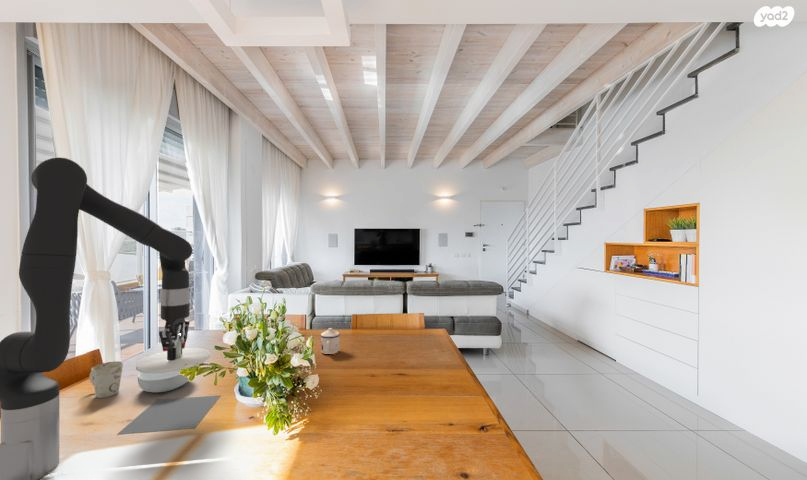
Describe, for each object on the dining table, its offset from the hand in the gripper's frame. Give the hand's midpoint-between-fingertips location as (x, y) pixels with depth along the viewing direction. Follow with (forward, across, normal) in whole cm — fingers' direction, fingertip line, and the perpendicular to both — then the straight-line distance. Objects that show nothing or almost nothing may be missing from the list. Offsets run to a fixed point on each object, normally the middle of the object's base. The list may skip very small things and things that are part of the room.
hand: (174, 357), depth 104 cm
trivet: (+18, 0, 0) cm, 18 cm away
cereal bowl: (+18, +20, +12) cm, 30 cm away
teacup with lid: (+18, +50, -44) cm, 69 cm away
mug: (+18, +19, +32) cm, 42 cm away
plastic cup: (+18, +47, +22) cm, 55 cm away
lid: (+1, 0, 0) cm, 1 cm away
